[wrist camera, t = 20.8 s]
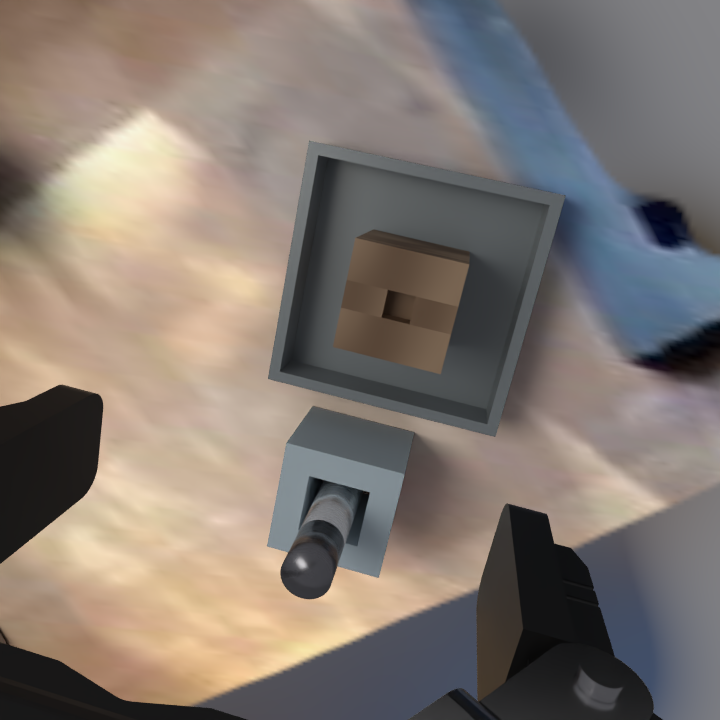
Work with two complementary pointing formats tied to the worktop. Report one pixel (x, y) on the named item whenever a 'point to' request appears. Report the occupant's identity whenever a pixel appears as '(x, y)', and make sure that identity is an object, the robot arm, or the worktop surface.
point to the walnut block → (401, 299)
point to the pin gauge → (320, 541)
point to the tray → (427, 223)
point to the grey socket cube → (343, 481)
